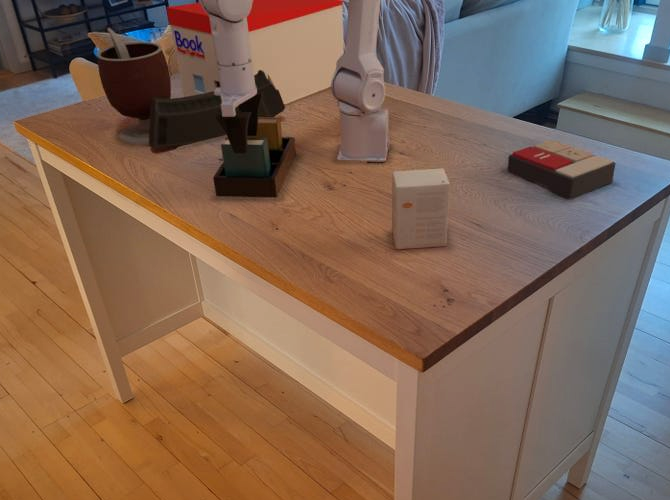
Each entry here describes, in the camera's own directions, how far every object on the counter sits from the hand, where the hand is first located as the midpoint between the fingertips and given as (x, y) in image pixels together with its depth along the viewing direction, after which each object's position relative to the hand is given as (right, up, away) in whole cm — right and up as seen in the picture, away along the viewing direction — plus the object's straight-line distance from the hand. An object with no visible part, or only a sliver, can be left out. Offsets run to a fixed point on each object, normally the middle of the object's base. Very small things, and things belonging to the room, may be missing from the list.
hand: (245, 143), depth 114 cm
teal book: (0, -6, +5) cm, 8 cm away
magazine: (-9, +10, +27) cm, 30 cm away
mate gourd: (-26, +12, +30) cm, 41 cm away
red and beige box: (+56, -5, +4) cm, 56 cm away
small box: (+29, -19, -11) cm, 36 cm away
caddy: (+1, -3, +10) cm, 10 cm away
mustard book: (+2, +1, +14) cm, 14 cm away
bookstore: (-1, +28, +48) cm, 55 cm away
